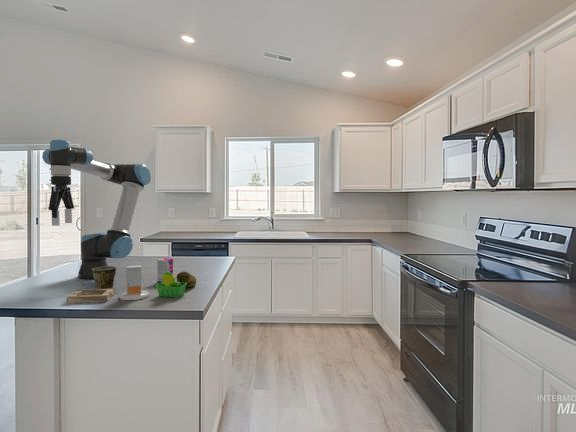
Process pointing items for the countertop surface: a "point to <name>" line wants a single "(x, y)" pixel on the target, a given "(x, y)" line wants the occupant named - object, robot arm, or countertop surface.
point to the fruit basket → (170, 286)
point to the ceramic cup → (104, 276)
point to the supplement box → (164, 268)
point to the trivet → (134, 296)
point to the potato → (186, 279)
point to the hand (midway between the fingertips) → (62, 224)
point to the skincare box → (134, 280)
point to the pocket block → (90, 296)
